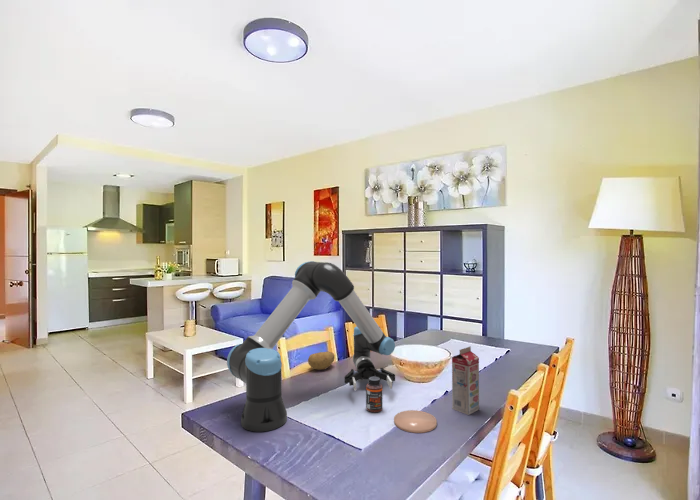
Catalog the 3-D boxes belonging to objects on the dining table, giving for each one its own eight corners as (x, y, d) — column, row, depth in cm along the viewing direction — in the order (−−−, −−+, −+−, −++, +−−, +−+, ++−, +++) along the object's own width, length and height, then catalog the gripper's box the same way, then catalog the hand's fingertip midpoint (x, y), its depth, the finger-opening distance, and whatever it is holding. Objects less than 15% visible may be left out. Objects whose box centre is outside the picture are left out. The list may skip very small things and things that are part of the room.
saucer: (431, 436, 117) (431, 433, 117) (388, 427, 122) (388, 424, 122) (440, 417, 129) (440, 414, 129) (400, 410, 135) (400, 407, 135)
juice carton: (452, 408, 136) (451, 347, 136) (462, 403, 140) (462, 344, 140) (468, 415, 131) (468, 351, 130) (479, 409, 135) (478, 348, 135)
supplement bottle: (369, 414, 132) (368, 382, 132) (363, 407, 138) (363, 376, 138) (385, 411, 134) (384, 380, 134) (379, 405, 140) (379, 374, 140)
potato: (339, 368, 182) (339, 351, 182) (314, 374, 173) (314, 357, 173) (328, 363, 189) (328, 347, 189) (304, 369, 181) (303, 352, 181)
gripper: (393, 374, 164) (405, 394, 143) (336, 377, 162) (340, 397, 140) (393, 357, 164) (405, 374, 143) (336, 360, 161) (340, 377, 140)
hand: (373, 386), depth 142 cm, fingers open, 13 cm apart
